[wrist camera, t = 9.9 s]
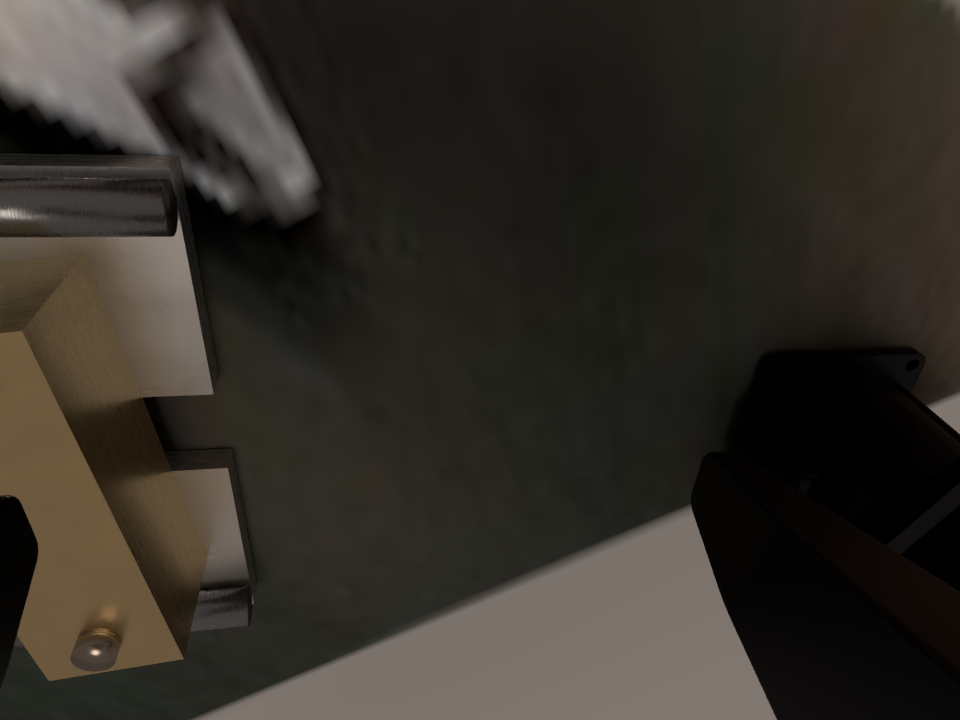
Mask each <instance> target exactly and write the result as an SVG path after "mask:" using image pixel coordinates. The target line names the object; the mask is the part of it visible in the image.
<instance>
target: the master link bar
mask: <svg viewBox="0 0 960 720" xmlns="http://www.w3.org/2000/svg"><path fill="white" fill-rule="evenodd" d="M0 495H12V496H15V497H16V498H18V499H19V500H20V502H21V504H22V506H23V508H24V511H25V513H26V515H27V518H28V520H29V522H30V525H31V527H32V529H33V532H34V534H35V536H36V539H37V542H38V559H37V563H36V567H35V571H34V574H33V578H32V582H31V585H30V589H29V593H28V596H27V600H26V604H25V607H24V611H23V615H22V618H21V622H20V626H19V629H18V633H17V636H18V638H19V639H20V641H21V642H22V643H23V645H24V646H25V648H26V649H27V650H28V652H29V653H30V655H31V656H32V658H33V659H34V660H35V662H36V663H37V665H38V666H39V667H40V669H41V670H42V672H43V673H44V674H45V676H46V677H47V679H48V680H49V681H52V680H58V679H64V678H70V677H76V676H82V675H89V674H95V673H101V672H107V671H113V670H119V669H126V668H132V667H138V666H144V665H150V664H156V663H163V662H169V661H175V660H181V659H184V657H185V652H186V648H187V644H188V639H189V635H190V631H191V626H192V622H193V618H194V613H195V609H196V605H197V600H198V596H199V592H200V588H201V583H202V579H203V575H204V570H205V566H206V562H207V556H206V554H205V551H204V549H203V547H202V544H201V542H200V539H199V537H198V534H197V532H196V529H195V527H194V524H193V522H192V519H191V517H190V514H189V512H188V509H187V507H186V504H185V502H184V499H183V497H182V494H181V492H180V489H179V487H178V484H177V482H176V480H175V477H174V475H173V472H172V470H171V467H170V465H169V462H168V460H167V457H166V455H165V452H164V450H163V447H162V445H161V442H160V440H159V437H158V435H157V432H156V430H155V427H154V425H153V422H152V420H151V417H150V415H149V412H148V410H147V408H146V405H145V403H144V400H143V398H142V395H141V393H140V390H139V388H138V385H137V383H136V380H135V378H134V375H133V373H132V370H131V368H130V365H129V363H128V360H127V358H126V355H125V353H124V350H123V348H122V345H121V343H120V341H119V338H118V336H117V333H116V331H115V328H114V326H113V323H112V321H111V318H110V316H109V313H108V311H107V308H106V306H105V303H104V301H103V298H102V296H101V293H100V291H99V288H98V286H97V283H96V281H95V278H94V276H93V274H92V271H91V269H90V266H89V264H88V261H87V259H86V256H85V254H78V255H68V256H58V257H48V258H37V259H27V260H17V261H7V262H0Z"/></svg>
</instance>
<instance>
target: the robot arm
mask: <svg viewBox="0 0 960 720" xmlns="http://www.w3.org/2000/svg"><path fill="white" fill-rule="evenodd" d="M925 361H926V360H925V357H924V356H923V355H922V354H921V353H919V352H918V351H917V350H916V349H912V348H903V349H875V350H847V351H819V352H791V353H774V354H770V355H769V356H767V357H765V358H764V359H763V360H762V362H761V364H760V366H759V369H758V371H757V374H756V377H755V380H754V383H753V386H752V389H751V392H750V395H749V398H748V401H747V404H746V407H745V410H744V412H743V414H742V417H741V420H740V423H739V426H738V429H737V432H736V435H735V438H734V441H733V444H732V446H731V449H730V451H720V452H710V453H707V454H706V455H705V456H704V457H703V459H702V462H701V465H700V468H699V471H698V474H697V478H696V481H695V484H694V487H693V490H692V494H691V506H692V510H693V514H694V517H695V519H696V522H697V526H698V528H699V531H700V534H701V537H702V540H703V543H704V546H705V549H706V552H707V555H708V558H709V561H710V564H711V567H712V570H713V573H714V576H715V579H716V582H717V585H718V588H719V591H720V593H721V596H722V599H723V602H724V604H725V607H726V609H727V611H728V614H729V616H730V618H731V621H732V623H733V625H734V627H735V629H736V632H737V634H738V636H739V638H740V640H741V642H742V644H743V646H744V649H745V651H746V653H747V655H748V658H749V660H750V662H751V664H752V666H753V669H754V671H755V673H756V675H757V677H758V679H759V682H760V684H761V686H762V688H763V690H764V692H765V695H766V697H767V699H768V701H769V703H770V705H771V707H772V710H773V712H774V714H775V716H776V718H777V720H960V434H959V433H957V432H956V431H955V430H954V429H953V428H952V427H950V426H949V425H948V424H947V423H946V422H944V421H943V420H942V419H941V418H939V416H937V415H936V414H935V413H934V412H933V411H932V410H930V409H929V408H928V407H927V406H926V405H925V404H923V403H922V402H921V401H920V400H919V399H917V398H916V397H915V396H914V395H913V394H912V393H910V392H911V390H912V388H913V386H914V384H915V382H916V380H917V378H918V376H919V374H920V372H921V370H922V368H923V366H924V364H925ZM777 365H778V366H777ZM775 366H777V368H775V369H774V370H772V369H773V368H774V367H775ZM37 559H38V542H37V539H36V536H35V534H34V532H33V529H32V527H31V525H30V522H29V520H28V518H27V515H26V513H25V511H24V508H23V506H22V504H21V502H20V500H19V499H18V498H16V497H15V496H12V495H0V689H1V686H2V684H3V681H4V678H5V675H6V671H7V668H8V665H9V662H10V658H11V655H12V651H13V647H14V644H15V640H16V637H17V633H18V629H19V626H20V622H21V618H22V615H23V611H24V607H25V604H26V600H27V596H28V593H29V589H30V585H31V582H32V578H33V574H34V571H35V567H36V563H37Z"/></svg>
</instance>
